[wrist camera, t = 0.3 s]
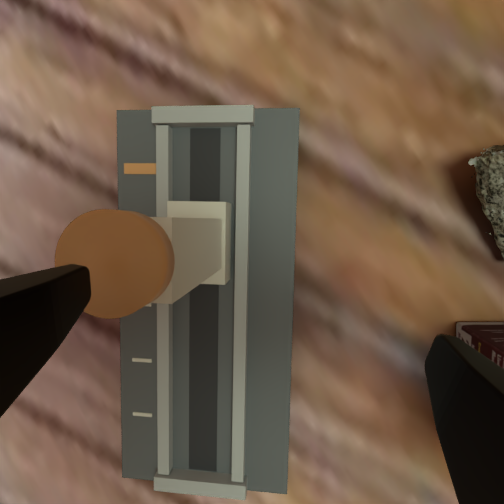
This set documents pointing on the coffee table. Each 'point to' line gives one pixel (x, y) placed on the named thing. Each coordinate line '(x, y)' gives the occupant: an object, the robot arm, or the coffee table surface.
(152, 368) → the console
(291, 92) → the coffee table surface
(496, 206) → the rock sample
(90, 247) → the fader knob
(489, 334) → the supplement box
